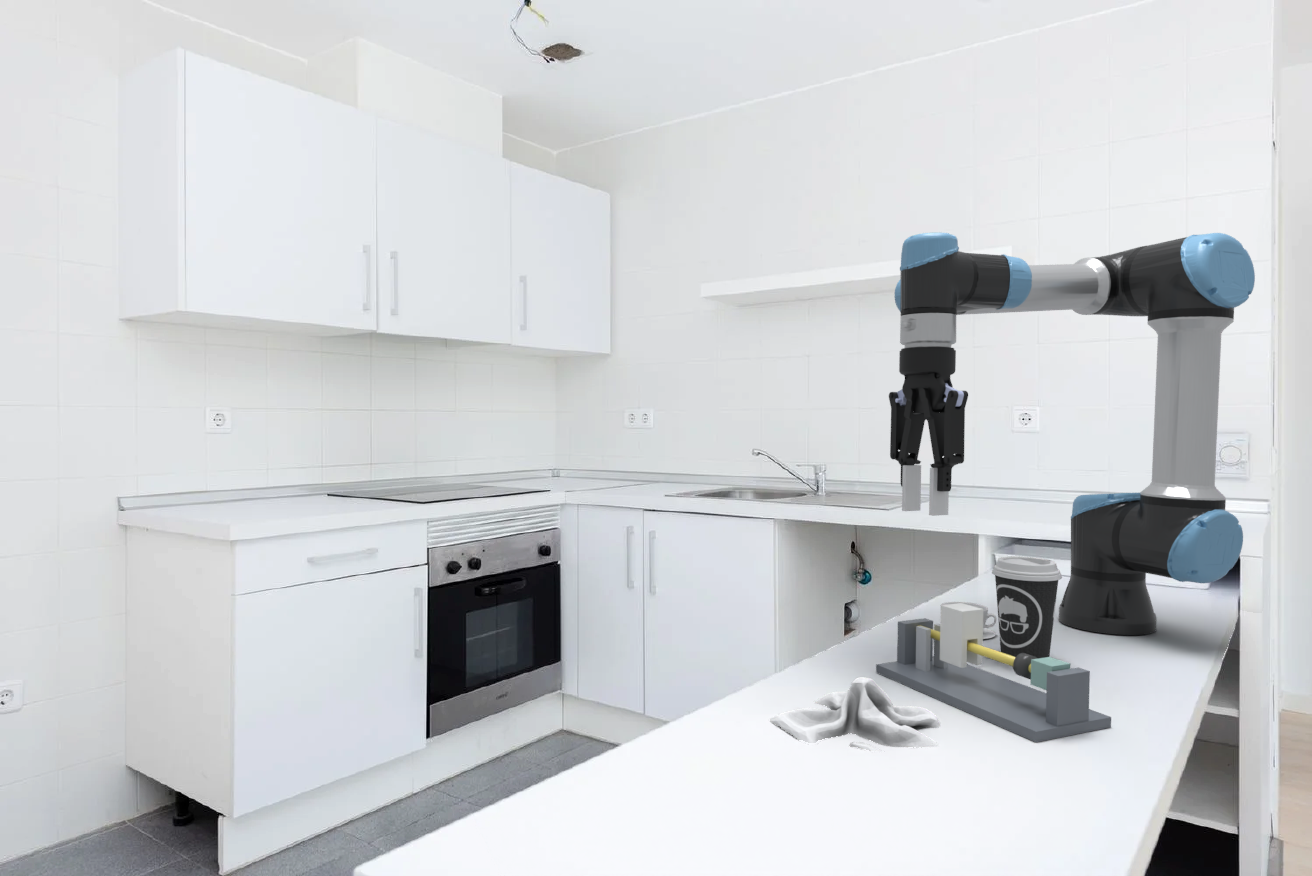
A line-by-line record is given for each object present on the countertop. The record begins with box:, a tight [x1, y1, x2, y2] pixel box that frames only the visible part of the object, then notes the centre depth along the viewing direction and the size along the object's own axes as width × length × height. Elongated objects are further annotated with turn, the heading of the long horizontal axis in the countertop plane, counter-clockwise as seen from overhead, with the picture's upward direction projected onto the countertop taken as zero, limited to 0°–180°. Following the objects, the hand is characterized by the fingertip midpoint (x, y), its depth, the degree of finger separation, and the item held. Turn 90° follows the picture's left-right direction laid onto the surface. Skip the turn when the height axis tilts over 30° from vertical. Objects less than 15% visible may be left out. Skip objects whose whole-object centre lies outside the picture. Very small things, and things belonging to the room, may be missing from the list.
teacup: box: [933, 601, 998, 640], centre depth 145 cm, size 10×10×5 cm
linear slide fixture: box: [875, 618, 1112, 743], centre depth 112 cm, size 28×12×8 cm, turn 24°
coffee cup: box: [991, 555, 1063, 659], centre depth 128 cm, size 10×10×15 cm
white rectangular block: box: [939, 603, 984, 668], centre depth 116 cm, size 4×4×7 cm
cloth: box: [769, 676, 941, 753], centre depth 101 cm, size 22×19×6 cm
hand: (924, 512), depth 122 cm, fingers open, 5 cm apart
